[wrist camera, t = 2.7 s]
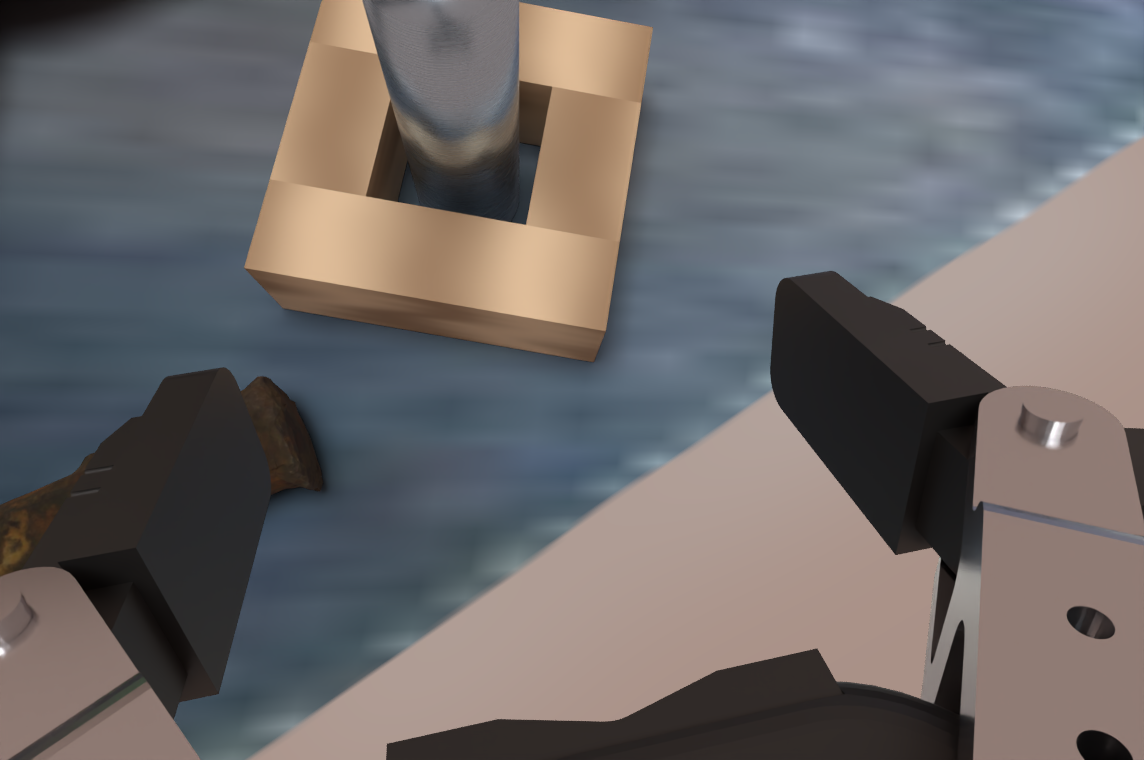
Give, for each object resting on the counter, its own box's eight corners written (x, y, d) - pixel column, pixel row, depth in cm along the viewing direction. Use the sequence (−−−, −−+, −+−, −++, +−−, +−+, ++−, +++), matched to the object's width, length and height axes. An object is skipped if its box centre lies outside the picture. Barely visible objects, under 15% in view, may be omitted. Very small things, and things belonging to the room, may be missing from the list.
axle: (410, 231, 28) (333, 9, 17) (430, 142, 29) (372, -126, 18) (509, 249, 29) (503, 40, 17) (527, 160, 30) (532, -95, 18)
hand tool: (302, 389, 27) (258, 356, 22) (337, 488, 26) (298, 475, 22) (-248, 598, 24) (-425, 608, 20) (-226, 716, 23) (-406, 755, 19)
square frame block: (283, 308, 27) (244, 268, 23) (355, 42, 30) (331, -33, 26) (593, 362, 28) (605, 331, 24) (636, 93, 31) (652, 27, 27)
